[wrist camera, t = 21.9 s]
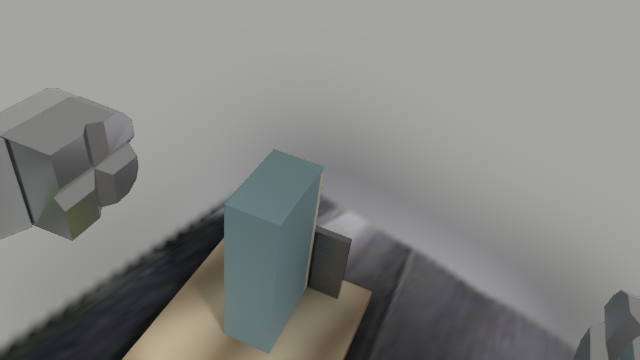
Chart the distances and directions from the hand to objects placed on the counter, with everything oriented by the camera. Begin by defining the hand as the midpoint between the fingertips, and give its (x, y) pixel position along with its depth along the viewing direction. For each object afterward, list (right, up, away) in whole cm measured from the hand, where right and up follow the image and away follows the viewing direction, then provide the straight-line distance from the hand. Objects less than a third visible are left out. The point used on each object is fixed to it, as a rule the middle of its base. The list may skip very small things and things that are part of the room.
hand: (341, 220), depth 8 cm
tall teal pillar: (-5, -10, +35) cm, 37 cm away
